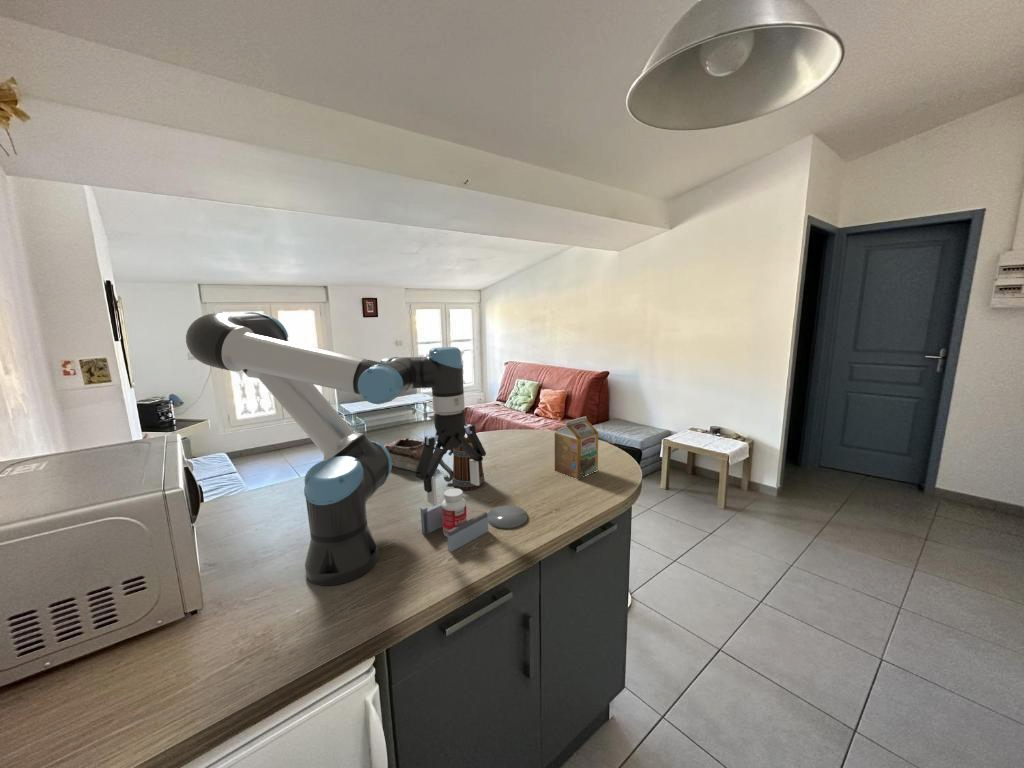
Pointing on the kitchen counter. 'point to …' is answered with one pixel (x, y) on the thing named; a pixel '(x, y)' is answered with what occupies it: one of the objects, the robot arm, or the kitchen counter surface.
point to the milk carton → (576, 448)
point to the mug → (461, 469)
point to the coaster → (507, 517)
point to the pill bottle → (453, 509)
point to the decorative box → (405, 452)
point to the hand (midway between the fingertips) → (454, 493)
